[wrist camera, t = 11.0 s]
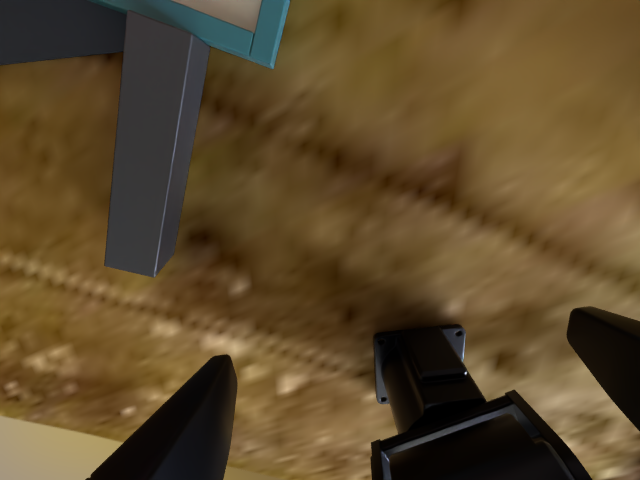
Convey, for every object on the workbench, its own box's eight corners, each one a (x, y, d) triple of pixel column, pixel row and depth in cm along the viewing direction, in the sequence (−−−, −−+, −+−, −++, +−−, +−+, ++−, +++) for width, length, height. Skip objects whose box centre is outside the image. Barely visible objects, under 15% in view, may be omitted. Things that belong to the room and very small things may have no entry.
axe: (224, 267, 20) (213, 292, 18) (73, 230, 19) (35, 250, 16) (337, -193, 13) (349, -275, 10) (100, -324, 11) (37, -465, 8)
